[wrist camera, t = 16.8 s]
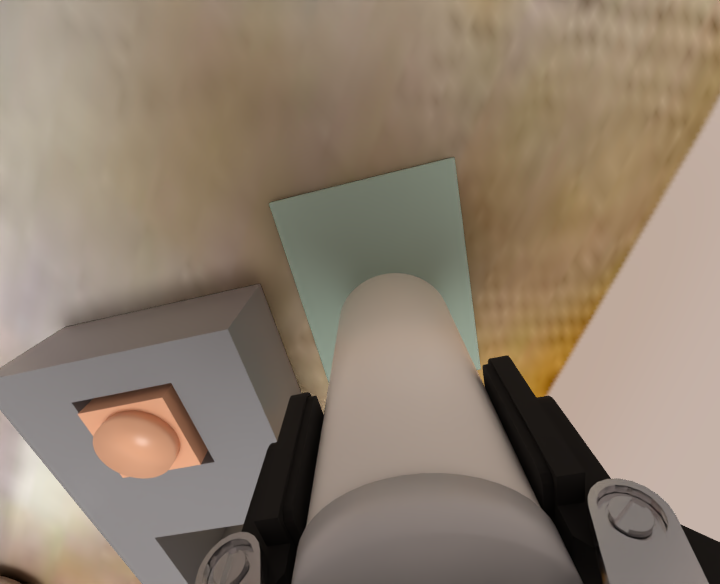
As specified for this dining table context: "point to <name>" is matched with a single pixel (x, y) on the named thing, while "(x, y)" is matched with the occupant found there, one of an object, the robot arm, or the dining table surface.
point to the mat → (377, 244)
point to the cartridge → (418, 459)
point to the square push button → (143, 432)
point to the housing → (201, 400)
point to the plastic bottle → (7, 581)
